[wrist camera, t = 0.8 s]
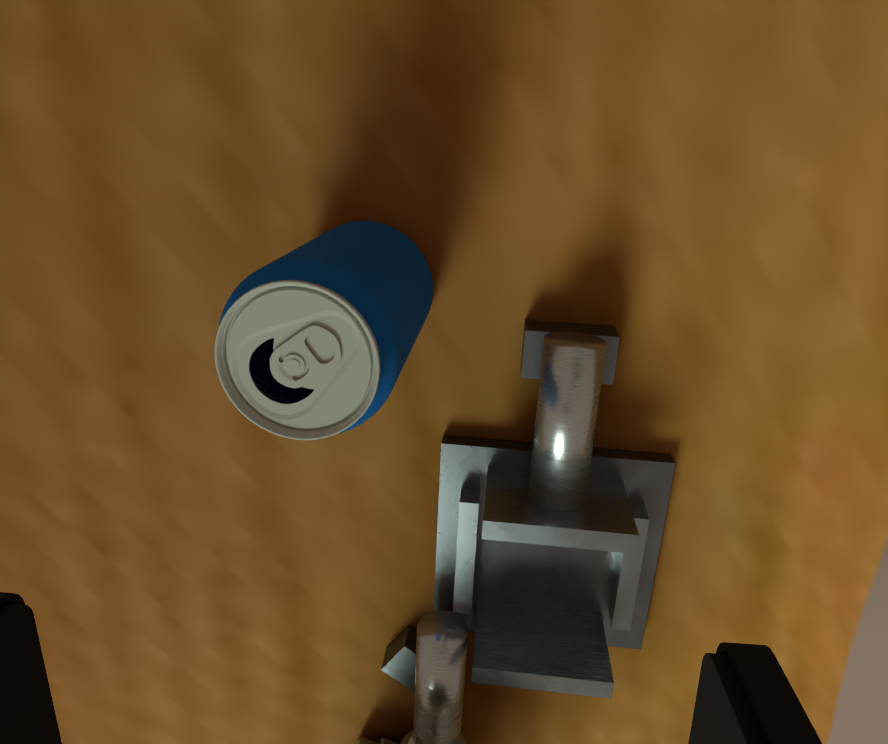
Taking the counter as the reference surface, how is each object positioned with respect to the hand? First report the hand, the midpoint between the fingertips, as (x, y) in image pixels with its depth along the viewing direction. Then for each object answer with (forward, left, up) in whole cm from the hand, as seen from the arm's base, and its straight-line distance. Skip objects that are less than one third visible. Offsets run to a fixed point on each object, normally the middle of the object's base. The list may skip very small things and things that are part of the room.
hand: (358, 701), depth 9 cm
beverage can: (0, -5, -25) cm, 26 cm away
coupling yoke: (+13, +3, -25) cm, 29 cm away
